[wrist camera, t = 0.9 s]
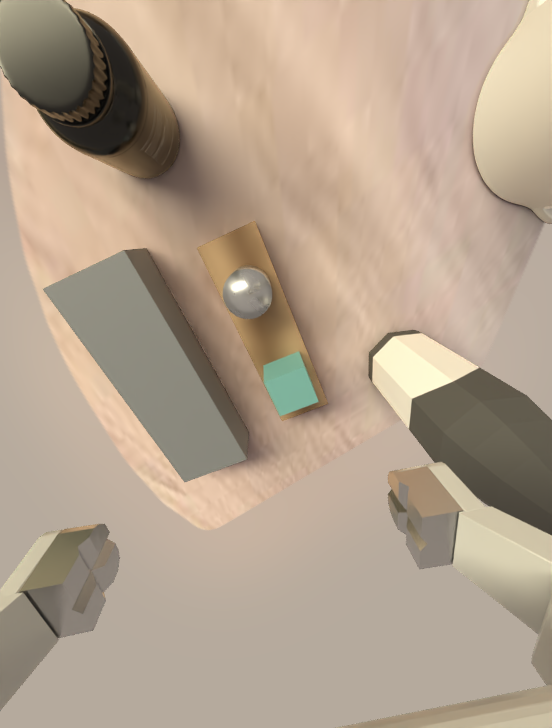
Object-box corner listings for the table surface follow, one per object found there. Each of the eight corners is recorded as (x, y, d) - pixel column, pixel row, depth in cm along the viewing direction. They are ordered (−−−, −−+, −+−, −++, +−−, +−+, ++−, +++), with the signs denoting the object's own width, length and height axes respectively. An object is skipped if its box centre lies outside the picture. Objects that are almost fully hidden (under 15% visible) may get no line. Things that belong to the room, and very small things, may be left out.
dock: (146, 248, 28) (124, 250, 24) (248, 432, 38) (247, 459, 33) (76, 281, 29) (42, 289, 25) (193, 453, 39) (184, 482, 34)
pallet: (255, 222, 28) (254, 220, 25) (321, 388, 36) (328, 403, 33) (204, 246, 29) (196, 247, 26) (280, 404, 37) (282, 421, 33)
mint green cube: (299, 351, 30) (304, 366, 26) (311, 383, 32) (318, 401, 28) (263, 365, 30) (263, 382, 27) (277, 396, 32) (280, 416, 28)
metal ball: (260, 257, 26) (260, 260, 23) (277, 298, 28) (279, 307, 24) (220, 275, 27) (213, 281, 23) (239, 315, 28) (236, 326, 25)
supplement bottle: (144, 60, 23) (39, -100, 12) (197, 150, 26) (149, 85, 15) (80, 115, 24) (-70, 13, 13) (136, 196, 27) (49, 167, 16)
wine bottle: (379, 400, 37) (731, 885, 9) (355, 348, 34) (769, 836, 6) (440, 371, 36) (1057, 831, 8) (421, 315, 33) (1299, 739, 5)
